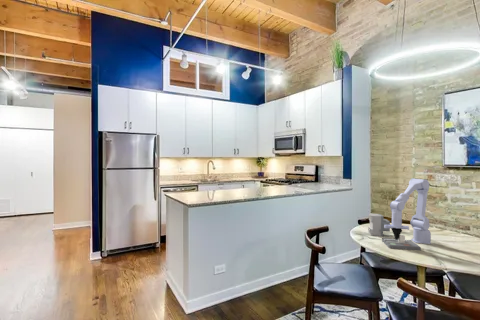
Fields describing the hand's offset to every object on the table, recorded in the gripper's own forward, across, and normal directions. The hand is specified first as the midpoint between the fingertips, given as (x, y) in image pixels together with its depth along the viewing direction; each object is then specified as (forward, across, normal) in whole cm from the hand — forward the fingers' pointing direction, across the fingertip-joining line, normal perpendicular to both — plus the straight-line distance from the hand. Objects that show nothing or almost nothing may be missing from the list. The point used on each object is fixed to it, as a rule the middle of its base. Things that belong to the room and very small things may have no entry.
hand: (396, 239), depth 170 cm
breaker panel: (+4, +2, 0) cm, 5 cm away
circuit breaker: (+4, -3, +23) cm, 24 cm away
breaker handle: (+2, +3, 0) cm, 3 cm away
